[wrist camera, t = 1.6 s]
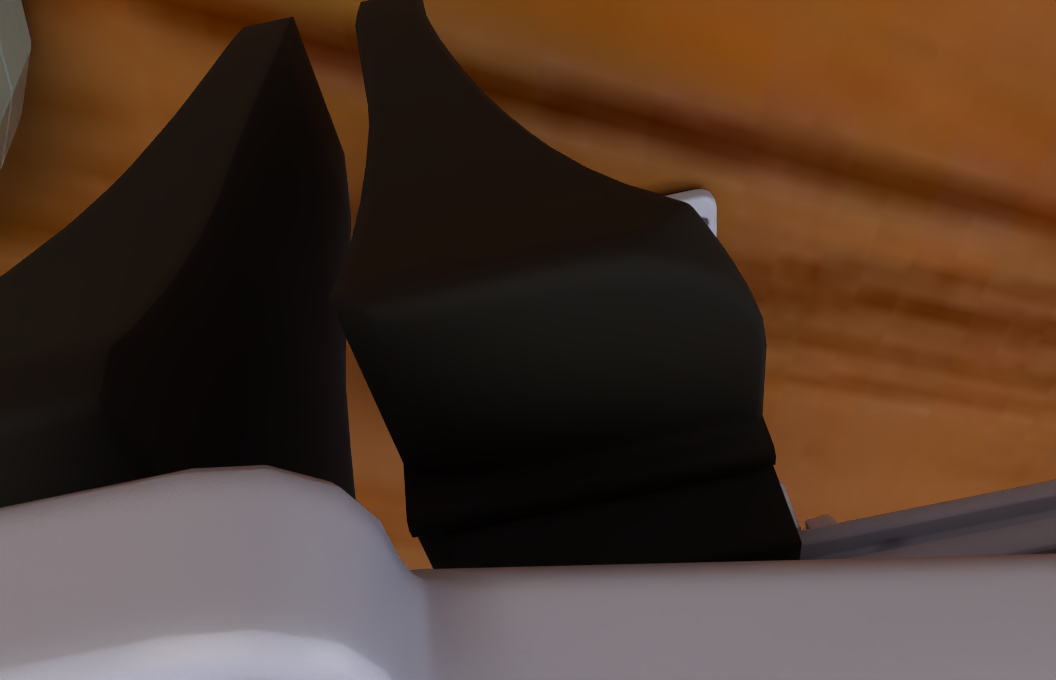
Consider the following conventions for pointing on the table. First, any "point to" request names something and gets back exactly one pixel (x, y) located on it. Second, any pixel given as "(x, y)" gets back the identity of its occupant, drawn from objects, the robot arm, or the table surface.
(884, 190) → the table surface
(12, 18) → the bowl
